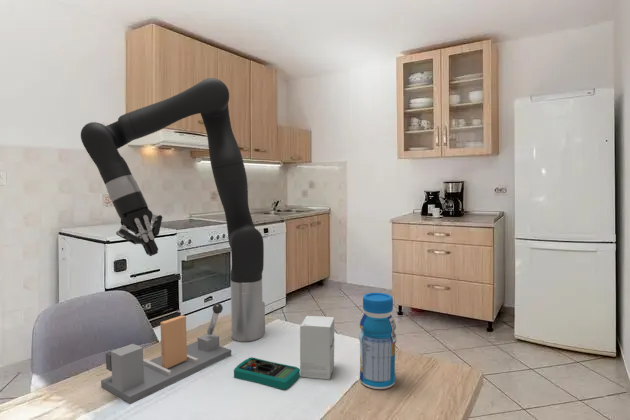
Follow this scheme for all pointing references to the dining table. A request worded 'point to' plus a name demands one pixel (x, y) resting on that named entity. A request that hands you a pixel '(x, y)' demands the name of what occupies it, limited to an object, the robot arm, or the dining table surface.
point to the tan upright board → (173, 341)
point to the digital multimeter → (267, 373)
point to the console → (157, 368)
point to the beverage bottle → (377, 342)
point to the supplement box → (317, 347)
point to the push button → (108, 361)
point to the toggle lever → (214, 318)
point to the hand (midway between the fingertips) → (154, 254)
